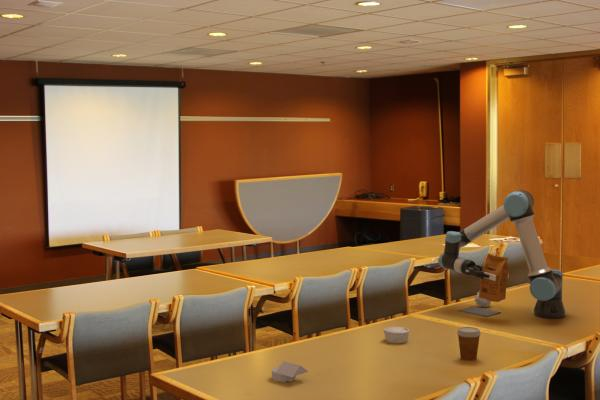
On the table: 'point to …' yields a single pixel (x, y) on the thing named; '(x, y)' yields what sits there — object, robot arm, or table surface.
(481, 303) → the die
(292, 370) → the grey angular block
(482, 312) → the mat
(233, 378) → the table surface
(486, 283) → the coffee package
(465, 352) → the disposable coffee cup
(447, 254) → the robot arm
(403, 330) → the ramekin
